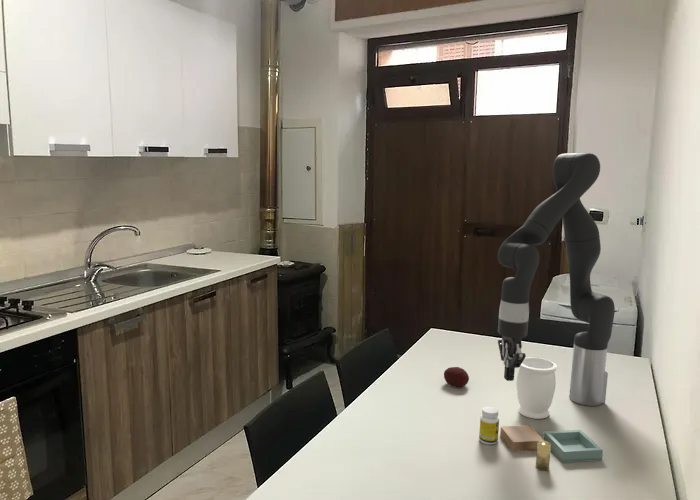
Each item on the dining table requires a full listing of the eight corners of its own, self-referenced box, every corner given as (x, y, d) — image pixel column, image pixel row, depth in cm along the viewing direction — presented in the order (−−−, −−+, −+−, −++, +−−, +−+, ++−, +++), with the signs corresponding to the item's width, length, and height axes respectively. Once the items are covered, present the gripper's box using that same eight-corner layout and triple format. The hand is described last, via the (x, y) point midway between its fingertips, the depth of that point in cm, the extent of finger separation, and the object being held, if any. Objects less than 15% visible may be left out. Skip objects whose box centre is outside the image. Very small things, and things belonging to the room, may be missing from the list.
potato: (458, 379, 182) (459, 361, 181) (473, 388, 174) (474, 370, 173) (439, 382, 179) (440, 365, 178) (454, 392, 171) (455, 374, 170)
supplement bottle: (498, 446, 139) (500, 415, 138) (479, 444, 140) (481, 412, 139) (497, 437, 144) (499, 406, 142) (478, 434, 145) (480, 404, 143)
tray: (579, 439, 143) (580, 429, 143) (601, 460, 133) (602, 449, 133) (543, 441, 142) (544, 431, 141) (563, 462, 132) (563, 451, 131)
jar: (533, 424, 151) (537, 372, 149) (506, 409, 160) (510, 360, 158) (561, 416, 156) (565, 366, 153) (533, 402, 165) (537, 354, 163)
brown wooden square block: (529, 435, 145) (529, 425, 145) (543, 451, 138) (544, 440, 137) (500, 437, 144) (500, 426, 144) (512, 453, 137) (513, 442, 136)
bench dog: (545, 463, 131) (547, 440, 130) (551, 470, 128) (553, 446, 127) (533, 464, 131) (535, 440, 130) (539, 471, 128) (541, 447, 127)
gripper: (538, 324, 139) (533, 389, 142) (516, 310, 152) (511, 370, 155) (510, 324, 138) (505, 390, 141) (490, 310, 151) (486, 370, 154)
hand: (508, 379), depth 148 cm, fingers closed
